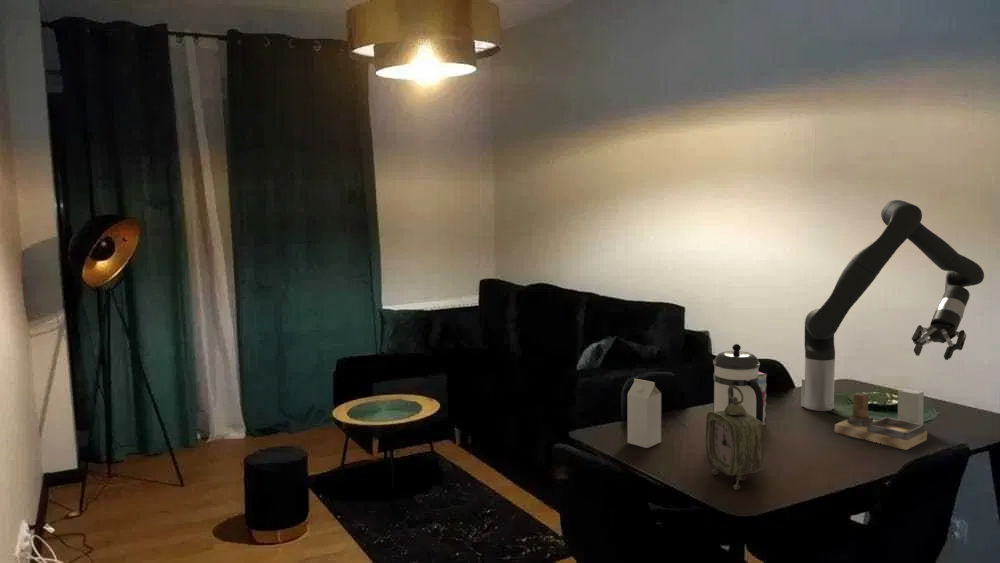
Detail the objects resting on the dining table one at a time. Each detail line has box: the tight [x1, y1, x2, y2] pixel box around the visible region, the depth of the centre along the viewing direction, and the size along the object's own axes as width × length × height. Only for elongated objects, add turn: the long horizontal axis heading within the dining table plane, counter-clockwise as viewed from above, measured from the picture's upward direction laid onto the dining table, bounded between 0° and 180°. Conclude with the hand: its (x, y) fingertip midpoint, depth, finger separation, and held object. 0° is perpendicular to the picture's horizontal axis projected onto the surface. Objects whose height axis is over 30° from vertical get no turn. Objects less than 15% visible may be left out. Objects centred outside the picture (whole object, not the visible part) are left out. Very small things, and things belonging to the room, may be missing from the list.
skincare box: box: [897, 387, 925, 425], centre depth 229 cm, size 6×4×12 cm
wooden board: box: [834, 392, 928, 451], centre depth 224 cm, size 21×13×12 cm, turn 38°
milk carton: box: [626, 378, 662, 449], centre depth 223 cm, size 7×7×19 cm
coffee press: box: [712, 343, 763, 423], centre depth 217 cm, size 17×16×30 cm
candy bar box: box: [758, 370, 768, 426], centre depth 241 cm, size 11×5×16 cm, turn 16°
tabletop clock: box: [705, 386, 767, 491], centre depth 192 cm, size 14×9×25 cm, turn 13°
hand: (931, 356), depth 235 cm, fingers open, 8 cm apart
